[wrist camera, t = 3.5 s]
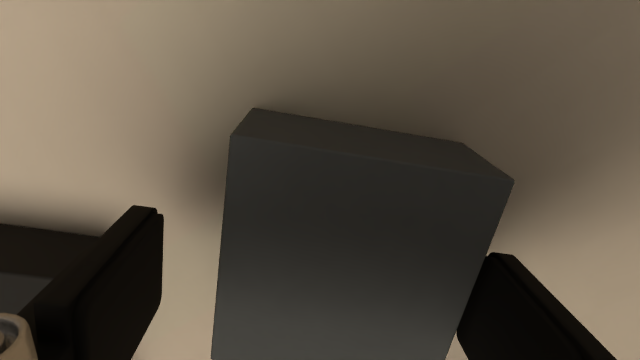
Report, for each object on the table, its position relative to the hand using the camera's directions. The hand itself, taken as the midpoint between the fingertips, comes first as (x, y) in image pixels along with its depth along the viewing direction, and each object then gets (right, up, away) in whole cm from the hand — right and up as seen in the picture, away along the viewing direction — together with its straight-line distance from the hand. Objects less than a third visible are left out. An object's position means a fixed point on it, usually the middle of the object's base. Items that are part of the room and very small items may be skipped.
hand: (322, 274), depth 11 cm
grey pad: (+1, +1, +3) cm, 3 cm away
